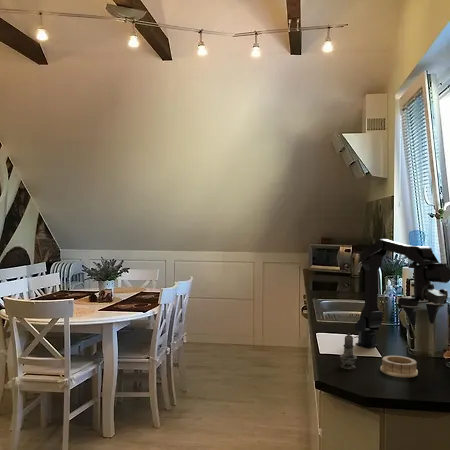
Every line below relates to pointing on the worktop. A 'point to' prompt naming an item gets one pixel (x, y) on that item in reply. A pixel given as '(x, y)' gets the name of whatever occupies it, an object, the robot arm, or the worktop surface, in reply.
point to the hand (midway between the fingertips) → (422, 324)
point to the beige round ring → (399, 366)
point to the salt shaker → (348, 353)
